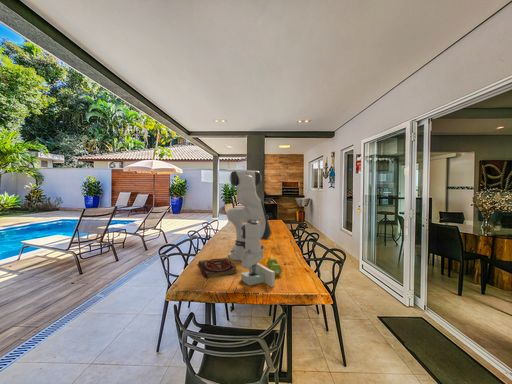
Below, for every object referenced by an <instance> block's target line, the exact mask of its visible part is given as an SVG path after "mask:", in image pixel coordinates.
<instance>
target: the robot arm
mask: <svg viewBox="0 0 512 384" xmlns="http://www.w3.org/2000/svg"><path fill="white" fill-rule="evenodd" d="M229 182H230V185H231V186H233V187H236V201H237V203H238V204H239V205H242V206H243V207H232V208H229V209H228V210H227V213H226V218H227V220H228V221H230V222H231V223H232V225H233V226H234V228H235V231H236V233H235V234H236V237H235V238H236V239H235V243H234V245H233V246H232V247H231V249H230V253H227V254H228V255H227V256H228V257H229V258H230V259H231V260H232V261H241V268H243V269H245V270H246V269H248V272H249V273H252V272H253V270H252V266H253V265H255V271H256V267H257V263H260V262H261V261H262V260H263V258H264V247H265V245H264V244H261V240H264V241H265V240H267V239H269V238H270V237H271V234H272V230H271V229H272V228H271V226H270V224H269V221H268V218H267V217H268V216H267V213H266V209H265V206H264V202H263V200H262V199H261V198H260V197H259V196H258V194H257V187H256V186H259V185H260V184H261V182H262V175H261V172H260V171H259V170H247V169H246V170H238V171H237V170H233V171H231V172H230V175H229ZM244 223H245V224H244Z"/></svg>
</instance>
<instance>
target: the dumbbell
mask: <svg viewBox="0 0 512 384" xmlns="http://www.w3.org/2000/svg"><path fill="white" fill-rule="evenodd" d="M266 267H267V268H268V269H270V270H272V271H274V272H275V277H280V275H281V274H282V272H283V267H282V266H281V265H280V264H279V262H278V260H277V259H276V258H275V257H271V258H269V259H268V260H267V261H266Z"/></svg>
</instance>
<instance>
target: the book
mask: <svg viewBox="0 0 512 384" xmlns="http://www.w3.org/2000/svg"><path fill="white" fill-rule="evenodd" d="M198 266H199V269H200V270H201V272H202V274H203V277H204V278H209V277H210V278H211V277H217V276H218V277H219V276H228V275H237V274H238V272H236V271H237V268H236V266H235V265H234V264H233V263H232V261H231V260H230V259H229V258H227V257H220V258H211V259H204V260H199V261H198Z"/></svg>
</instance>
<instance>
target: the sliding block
mask: <svg viewBox="0 0 512 384" xmlns="http://www.w3.org/2000/svg"><path fill="white" fill-rule="evenodd" d="M264 277H265V275H263V274H261V273H259V272H258V271H255V276H250V273H249V271H245V272H241V273H240V280H241V281H242V282H243V283H245V284H247V285H248V286H255V285H258V284H262V283H265V282H264Z"/></svg>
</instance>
